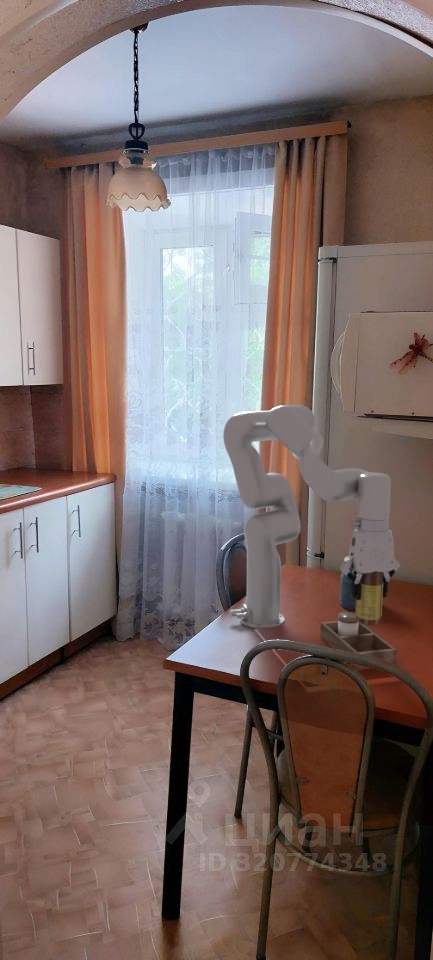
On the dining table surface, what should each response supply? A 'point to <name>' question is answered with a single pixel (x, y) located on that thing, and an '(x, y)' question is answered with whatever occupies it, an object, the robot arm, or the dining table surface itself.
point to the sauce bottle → (370, 599)
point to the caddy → (358, 643)
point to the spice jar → (347, 624)
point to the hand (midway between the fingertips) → (369, 596)
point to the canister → (346, 591)
